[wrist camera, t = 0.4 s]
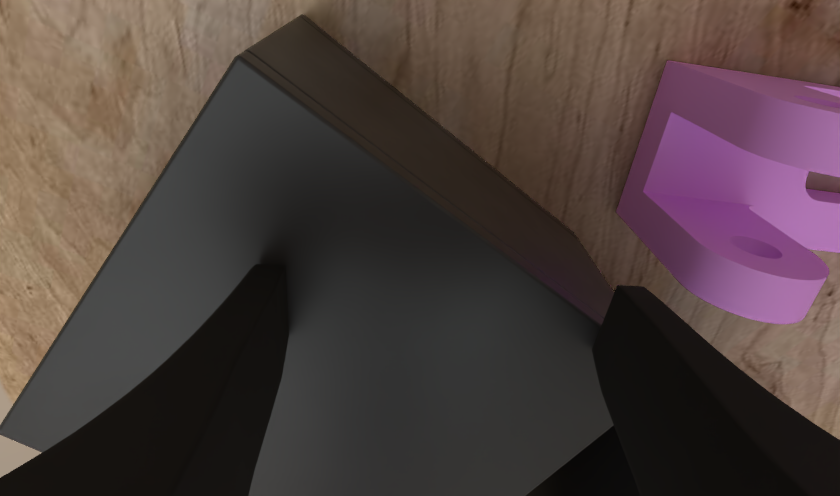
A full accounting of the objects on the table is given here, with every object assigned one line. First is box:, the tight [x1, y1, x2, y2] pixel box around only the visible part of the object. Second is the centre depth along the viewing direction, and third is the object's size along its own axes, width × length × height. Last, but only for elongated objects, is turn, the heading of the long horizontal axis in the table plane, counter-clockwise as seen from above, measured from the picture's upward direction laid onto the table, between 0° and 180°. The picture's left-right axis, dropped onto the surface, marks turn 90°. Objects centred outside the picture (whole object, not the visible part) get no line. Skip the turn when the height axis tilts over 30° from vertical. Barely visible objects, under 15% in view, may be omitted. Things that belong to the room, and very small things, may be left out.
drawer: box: [526, 425, 640, 496], centre depth 21 cm, size 16×10×7 cm, turn 51°
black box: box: [0, 14, 614, 496], centre depth 17 cm, size 12×11×8 cm
